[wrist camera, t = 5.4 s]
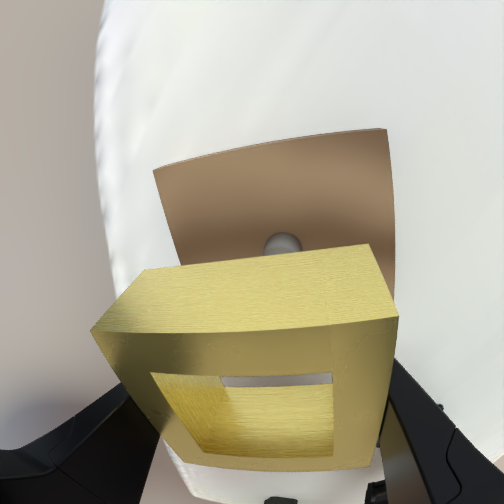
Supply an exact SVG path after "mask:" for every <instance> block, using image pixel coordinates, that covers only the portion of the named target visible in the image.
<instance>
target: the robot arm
mask: <svg viewBox="0 0 504 504" xmlns="http://www.w3.org/2000/svg"><path fill="white" fill-rule="evenodd" d="M443 409H444V408H443V405H437V404H436V403H435V402H434V400H433V399H432V398H431V397H430V396H429V395H428V394H427V393H426V392H425V390H424V389H423V388H422V387H421V386H420V385H419V384H418V383H417V382H416V381H415V379H414V378H413V377H412V376H411V375H410V374H409V373H408V372H407V371H406V370H405V369H404V367H403V366H402V365H401V364H400V363H399V362H398V361H397V360H396V359H395V358H394V361H393V367H392V374H391V379H390V385H389V390H388V396H387V401H386V405H385V410H384V414H383V419H382V423H381V427H380V431H379V435H378V439H377V443H376V447H377V448H380V450H381V456H382V462H383V468H384V475H385V480H382V481H378V482H372V483H368V488H367V490H366V497H365V503H364V504H504V473H503V472H502V471H500V470H499V469H498V468H497V467H496V466H495V465H494V464H493V463H491V462H490V461H489V460H488V459H487V458H486V457H485V456H484V455H483V454H482V453H481V452H480V451H478V450H477V449H476V448H475V447H474V446H473V444H472V443H471V442H470V441H469V440H468V439H467V438H466V437H465V436H464V435H463V433H462V432H461V431H460V430H459V429H458V428H455V427H456V425H455V424H454V423H453V422H452V421H451V420H450V419H449V417H448V416H447V415H446V414H445V413H444V412H443ZM159 438H160V434H159V433H158V432H157V430H156V429H155V428H154V427H153V425H152V424H151V423H150V421H149V420H148V419H147V418H146V416H145V415H144V414H143V412H142V411H141V410H140V408H139V407H138V406H137V404H136V403H135V401H134V400H133V399H132V397H131V396H130V394H129V393H128V392H127V390H126V389H125V387H124V386H123V384H122V383H119V384H118V385H117V386H115V387H114V388H113V389H111V390H110V391H108V392H107V393H105V394H104V395H103V396H101V397H100V398H99V399H97V400H96V401H95V402H93V403H92V404H90V405H89V406H87V407H86V408H84V409H83V410H82V411H80V412H79V413H77V414H76V415H75V417H72V418H70V419H69V420H67V421H66V422H64V423H63V424H61V425H60V426H58V427H57V428H55V429H54V430H52V431H50V432H49V433H47V434H45V435H43V436H42V437H40V438H38V439H36V440H34V441H33V442H31V443H29V444H27V445H25V446H23V447H21V448H19V449H15V450H1V449H0V504H139V503H140V499H141V496H142V493H143V489H144V486H145V483H146V479H147V476H148V473H149V469H150V466H151V463H152V460H153V457H154V453H155V450H156V447H157V444H158V441H159Z"/></svg>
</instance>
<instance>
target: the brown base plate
mask: <svg viewBox="0 0 504 504" xmlns="http://www.w3.org/2000/svg"><path fill="white" fill-rule="evenodd" d="M153 174H154V177H155V181H156V185H157V188H158V192H159V195H160V199H161V202H162V206H163V209H164V213H165V216H166V219H167V223H168V226H169V229H170V232H171V235H172V239H173V242H174V245H175V248H176V251H177V254H178V257H179V260H180V263H181V266H183V265H192V264H201V263H209V262H218V261H227V260H235V259H244V258H253V257H261V256H270V255H278V254H287V253H295V252H304V251H312V250H320V249H329V248H337V247H345V246H354V245H362V244H369V246H370V248H371V251H372V253H373V255H374V257H375V259H376V262H377V264H378V266H379V268H380V271H381V273H382V275H383V278H384V280H385V282H386V285H387V287H388V290H389V292H390V294H391V297H392V299H393V302H394V285H395V215H394V196H393V182H392V170H391V160H390V151H389V143H388V135H387V129H381V128H375V129H363V130H352V131H343V132H334V133H326V134H318V135H310V136H303V137H297V138H290V139H284V140H278V141H272V142H267V143H261V144H256V145H250V146H245V147H240V148H235V149H231V150H226V151H221V152H217V153H213V154H208V155H204V156H200V157H196V158H192V159H188V160H184V161H180V162H176V163H172V164H169V165H165V166H162V167H160V168H157V169H155V170H153Z"/></svg>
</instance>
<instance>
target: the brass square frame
mask: <svg viewBox="0 0 504 504" xmlns="http://www.w3.org/2000/svg"><path fill="white" fill-rule="evenodd" d="M398 320H399V315H398V312H397V310H396V307H395V304H394V302H393V299H392V297H391V294H390V292H389V290H388V287H387V285H386V282H385V280H384V278H383V275H382V273H381V271H380V268H379V266H378V264H377V262H376V259H375V257H374V255H373V253H372V251H371V248H370V246H369V244H362V245H354V246H345V247H337V248H329V249H320V250H312V251H304V252H295V253H287V254H278V255H270V256H261V257H253V258H244V259H235V260H227V261H218V262H209V263H201V264H192V265H183V266H174V267H165V268H156V269H147V270H144V271H143V272H142V273H141V274H140V275H139V276H138V277H137V278H136V279H135V280H134V282H133V283H132V284H131V285H130V286H129V287H128V288H127V289H126V290H125V291H124V292H123V293H122V295H121V296H120V297H119V298H118V299H117V300H116V301H115V302H114V303H113V305H112V306H111V307H110V308H109V309H108V310H107V311H106V313H105V314H104V315H103V316H102V317H101V318H100V319H99V321H98V322H97V323H96V324H95V325H94V326H93V327H92V329H91V330H90V332H91V334H92V336H93V337H94V339H95V341H96V343H97V344H98V346H99V348H100V350H101V351H102V353H103V355H104V356H105V358H106V359H107V361H108V363H109V364H110V366H111V367H112V369H113V370H114V372H115V374H116V375H117V377H118V378H119V380H120V381H121V383H122V384H123V386H124V387H125V389H126V390H127V392H128V393H129V394H130V396H131V397H132V399H133V400H134V401H135V403H136V404H137V406H138V407H139V408H140V410H141V411H142V412H143V414H144V415H145V416H146V418H147V419H148V420H149V421H150V423H151V424H152V425H153V427H154V428H155V429H156V430H157V432H158V433H159V434H160V435H161V436H162V438H163V439H164V440H165V441H166V442H167V444H168V445H169V446H170V447H171V448H172V449H173V451H174V452H175V453H176V454H177V455H178V456H179V457H180V458H181V460H182V461H183V462H185V463H191V464H197V465H204V466H211V467H219V468H227V469H238V470H250V471H270V472H311V471H331V470H343V469H353V468H362V467H369V466H370V464H371V461H372V457H373V454H374V450H375V447H376V443H377V439H378V435H379V431H380V427H381V423H382V419H383V414H384V410H385V405H386V401H387V396H388V390H389V385H390V379H391V374H392V367H393V361H394V354H395V347H396V339H397V330H398ZM328 372H332V381H333V383H330V384H318V385H304V386H283V387H224V385H223V382H222V380H221V378H220V376H283V375H302V374H316V373H328Z"/></svg>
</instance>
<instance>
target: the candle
mask: <svg viewBox="0 0 504 504" xmlns="http://www.w3.org/2000/svg"><path fill="white" fill-rule="evenodd" d="M264 504H297V500H295V499H288V498H281V497H270V499H268V500H265V502H264Z"/></svg>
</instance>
